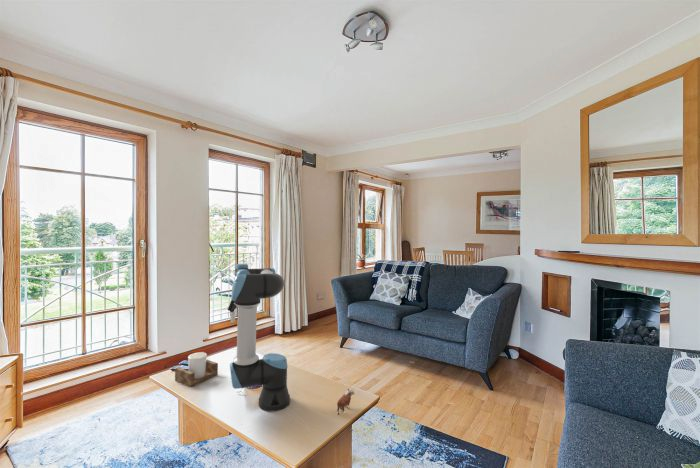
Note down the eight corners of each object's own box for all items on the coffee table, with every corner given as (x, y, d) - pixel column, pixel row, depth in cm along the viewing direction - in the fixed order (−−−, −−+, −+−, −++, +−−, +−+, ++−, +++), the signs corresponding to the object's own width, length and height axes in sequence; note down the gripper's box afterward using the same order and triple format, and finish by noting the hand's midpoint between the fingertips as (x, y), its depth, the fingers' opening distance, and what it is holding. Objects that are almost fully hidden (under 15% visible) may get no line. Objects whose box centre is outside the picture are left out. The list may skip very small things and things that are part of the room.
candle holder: (189, 373, 186) (189, 353, 185) (207, 371, 188) (207, 351, 188) (185, 381, 176) (186, 359, 176) (205, 379, 179) (205, 357, 179)
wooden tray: (217, 375, 186) (217, 363, 186) (190, 387, 172) (190, 374, 172) (202, 369, 193) (202, 358, 193) (175, 380, 178) (175, 368, 178)
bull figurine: (356, 404, 158) (356, 388, 158) (341, 418, 146) (342, 400, 146) (348, 402, 160) (348, 385, 160) (333, 415, 148) (334, 397, 148)
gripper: (261, 290, 192) (260, 325, 192) (231, 286, 204) (231, 319, 204) (252, 292, 186) (251, 328, 186) (222, 288, 197) (221, 322, 197)
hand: (240, 324), depth 195 cm, fingers open, 13 cm apart
